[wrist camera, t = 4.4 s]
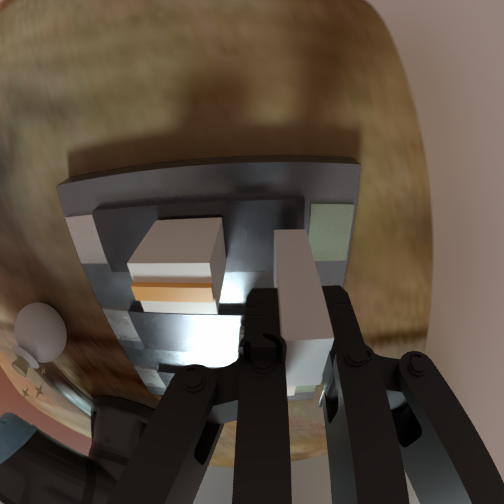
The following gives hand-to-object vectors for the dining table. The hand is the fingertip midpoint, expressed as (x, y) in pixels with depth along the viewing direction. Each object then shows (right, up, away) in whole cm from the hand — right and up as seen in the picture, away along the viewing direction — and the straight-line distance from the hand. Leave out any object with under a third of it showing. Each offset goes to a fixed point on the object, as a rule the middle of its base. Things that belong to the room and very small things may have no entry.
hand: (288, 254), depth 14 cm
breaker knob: (-5, +1, +1) cm, 5 cm away
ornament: (-23, -7, +9) cm, 25 cm away
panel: (-5, -5, +7) cm, 10 cm away
